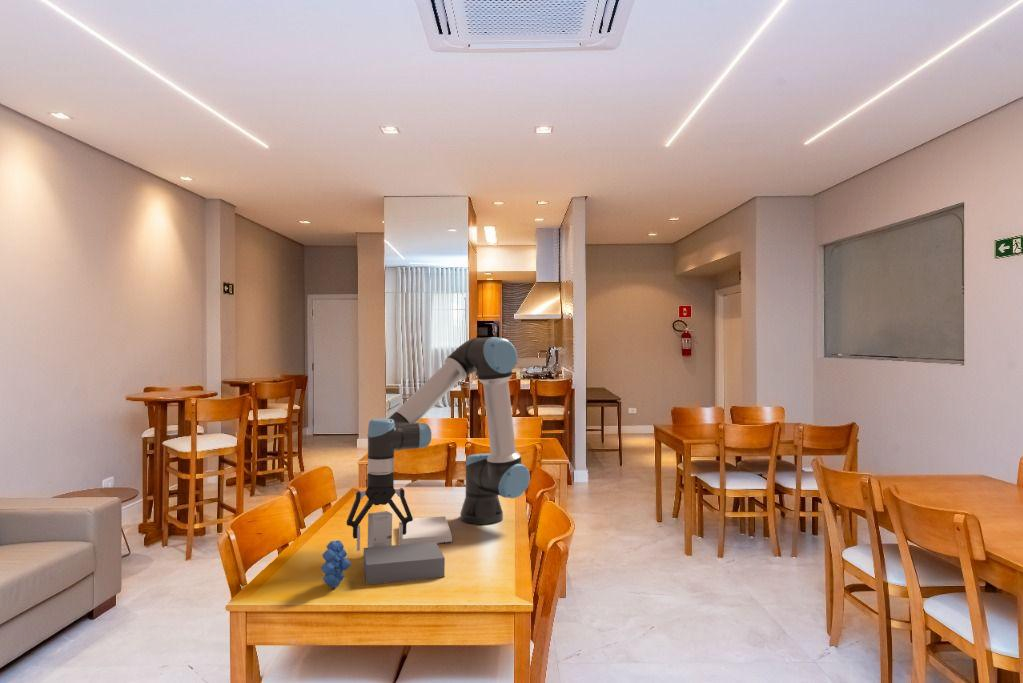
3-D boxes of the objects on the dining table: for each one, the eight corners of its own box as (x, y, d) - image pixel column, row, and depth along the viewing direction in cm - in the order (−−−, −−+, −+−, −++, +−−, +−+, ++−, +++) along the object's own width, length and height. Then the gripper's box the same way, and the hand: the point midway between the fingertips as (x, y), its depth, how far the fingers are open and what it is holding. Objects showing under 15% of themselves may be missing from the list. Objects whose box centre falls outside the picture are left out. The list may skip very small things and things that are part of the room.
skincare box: (372, 559, 172) (372, 516, 172) (366, 555, 176) (367, 513, 176) (392, 555, 176) (393, 513, 176) (386, 551, 179) (387, 510, 180)
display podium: (435, 559, 172) (435, 541, 173) (444, 577, 159) (444, 557, 159) (363, 566, 167) (363, 547, 167) (366, 584, 153) (366, 564, 153)
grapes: (341, 597, 145) (342, 547, 145) (314, 596, 146) (315, 546, 146) (359, 579, 157) (359, 533, 157) (333, 578, 157) (334, 532, 158)
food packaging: (451, 546, 188) (445, 526, 207) (451, 535, 187) (445, 516, 207) (402, 549, 184) (400, 529, 204) (402, 538, 184) (400, 519, 204)
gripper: (419, 468, 183) (418, 540, 183) (338, 471, 177) (337, 546, 176) (423, 472, 176) (422, 548, 176) (338, 476, 169) (337, 555, 169)
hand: (379, 547), depth 176 cm, fingers open, 11 cm apart
